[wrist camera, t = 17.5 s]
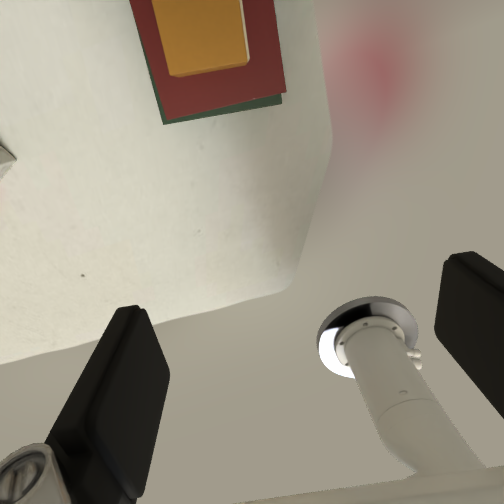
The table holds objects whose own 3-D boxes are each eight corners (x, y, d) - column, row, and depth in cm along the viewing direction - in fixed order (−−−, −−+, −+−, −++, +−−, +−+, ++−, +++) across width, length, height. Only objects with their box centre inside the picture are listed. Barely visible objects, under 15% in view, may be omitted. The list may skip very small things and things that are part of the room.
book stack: (279, 102, 36) (287, 104, 31) (169, 122, 37) (156, 127, 31) (256, -118, 28) (261, -172, 22) (113, -90, 28) (83, -136, 23)
